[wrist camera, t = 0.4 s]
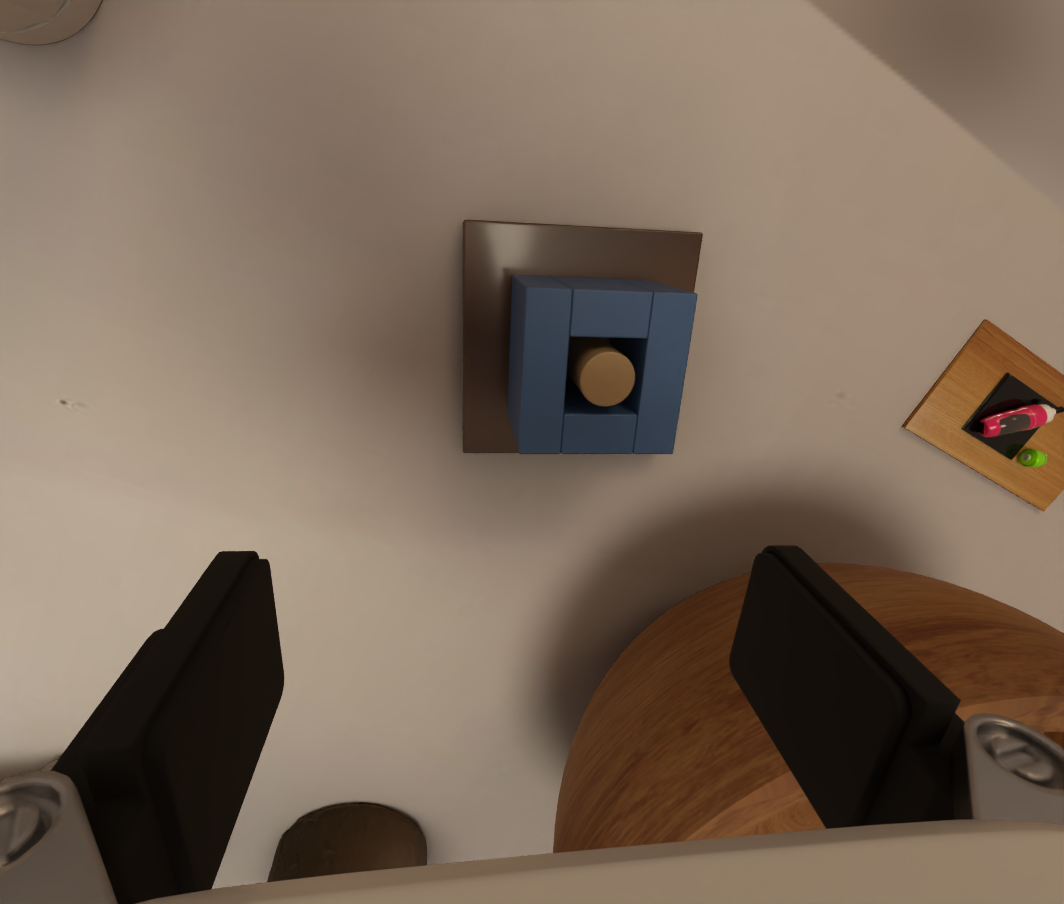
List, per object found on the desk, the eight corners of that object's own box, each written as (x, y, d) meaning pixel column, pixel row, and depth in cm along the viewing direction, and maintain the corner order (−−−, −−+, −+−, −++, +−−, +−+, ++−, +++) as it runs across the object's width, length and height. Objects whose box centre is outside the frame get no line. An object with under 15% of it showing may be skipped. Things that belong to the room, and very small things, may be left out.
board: (1040, 509, 33) (1066, 522, 31) (902, 426, 29) (923, 436, 28) (1121, 419, 31) (1152, 428, 30) (984, 319, 28) (1012, 324, 26)
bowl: (879, 392, 28) (1278, 550, 15) (940, 704, 38) (1215, 975, 24) (445, 595, 30) (435, 915, 16) (612, 846, 40) (695, 1179, 26)
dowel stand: (463, 219, 23) (465, 217, 17) (692, 232, 24) (770, 234, 18) (462, 444, 27) (464, 508, 21) (661, 444, 28) (717, 504, 22)
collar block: (512, 274, 23) (525, 286, 18) (651, 280, 24) (698, 293, 19) (507, 413, 25) (518, 454, 21) (635, 413, 26) (673, 454, 21)
